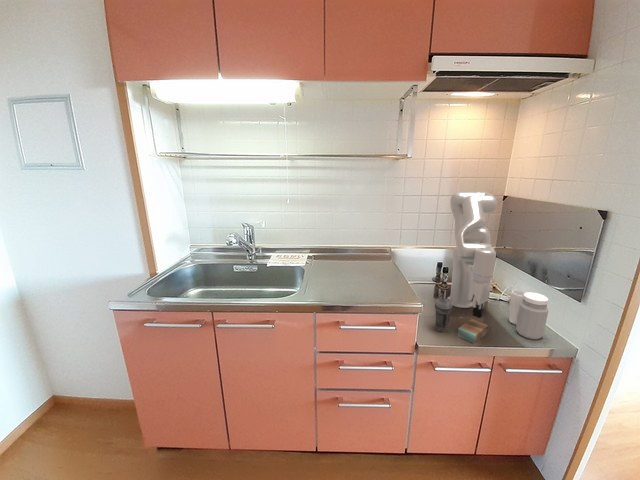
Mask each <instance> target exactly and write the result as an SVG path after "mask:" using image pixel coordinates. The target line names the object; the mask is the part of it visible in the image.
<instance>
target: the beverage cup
mask: <svg viewBox="0 0 640 480" xmlns="http://www.w3.org/2000/svg"><path fill="white" fill-rule="evenodd" d="M446 292H447V289H444V294H443V296H441V297H439V298H437V299H436V301H435V303H434V308H435V328H436V330H437V331H438V332H440V333H441V332H442V333H444V332H447V331H448V326H449V321H450V317H451V313H452V310H453V307H454V306H452V303H451V301H450V300H449V299H448V297H446V295H447V293H446Z"/></svg>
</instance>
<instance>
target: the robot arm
mask: <svg viewBox="0 0 640 480" xmlns="http://www.w3.org/2000/svg"><path fill="white" fill-rule="evenodd" d="M497 207H498V201H497V199H496V197H495V195H494V194H491V193H490V192H487V191H459V192H458V191H457V192H455V193H453V194H452V195H451V197H450V208H451V213H452V215H453V219H454V237H455V242H456V247H455V248H454V249H453V250H452V274H451V275H452V276H451V284H450V285H451V287H450V295H449V296H448V297H447V298H448V299H449V300H450V301H451V303H452V307H455V308H459V309H460V308H462V309H469V308H473V309H472V316H473V317H476V318H478V319H481V318H483V312H484V311H483V310H484V307H485V302H487V301H488V300H489V299H490V294H491V288H492V287H491V286H492V285H491V284H492V283H493V279H494V272H495V264H496V257H497V252H496V250H495V248H494V247H493V245H492V243H491V241H492V240H491V232H490V230H489V229H488V227H486V226H485V225H486V218H485V214H487V213H488V214H489V213H495V211H496V210H497ZM469 266H472V269H471V267H469Z"/></svg>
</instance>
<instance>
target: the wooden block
mask: <svg viewBox="0 0 640 480" xmlns="http://www.w3.org/2000/svg"><path fill="white" fill-rule="evenodd" d="M488 329H489V324H485V323H484V322H482V321H479V320H476V319H473V318H471V319H469V320H468V321H466V322H465V323H463V325H460V327H458V331H457V337H459V338H461V339H463V340H466V341H467V342H469V343H472V344H476V343H477V342H478V341H479V340H481V339H482V338H483V337H485V336H486V335H487V334H488Z"/></svg>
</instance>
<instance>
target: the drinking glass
mask: <svg viewBox="0 0 640 480" xmlns="http://www.w3.org/2000/svg"><path fill="white" fill-rule="evenodd" d="M526 292H527V291H524V290H519V289H513V290H512V291H511V294H510V301H509V318H508V321H509V323H512V324H513V325H516V324H517V318H518V312H519V306H520V302H522V301H523V295H524V293H526Z"/></svg>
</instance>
